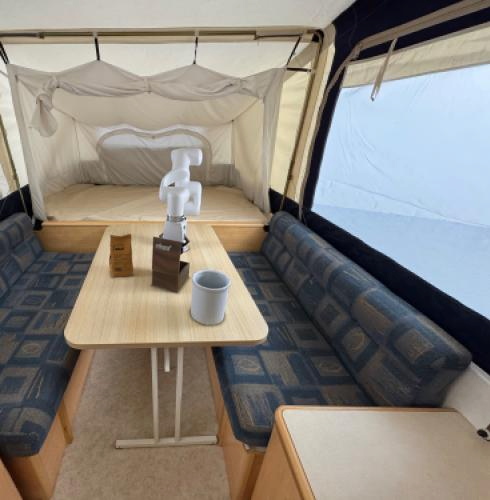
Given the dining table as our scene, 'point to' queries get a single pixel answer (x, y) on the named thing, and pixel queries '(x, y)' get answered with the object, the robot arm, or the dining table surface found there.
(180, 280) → the chest
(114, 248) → the coffee package
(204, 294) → the utensil holder
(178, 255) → the lid
